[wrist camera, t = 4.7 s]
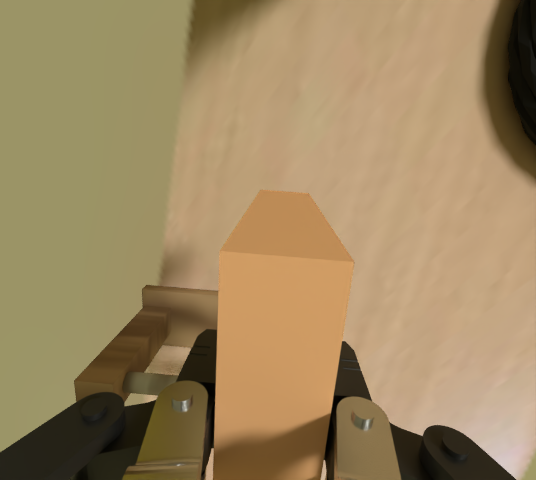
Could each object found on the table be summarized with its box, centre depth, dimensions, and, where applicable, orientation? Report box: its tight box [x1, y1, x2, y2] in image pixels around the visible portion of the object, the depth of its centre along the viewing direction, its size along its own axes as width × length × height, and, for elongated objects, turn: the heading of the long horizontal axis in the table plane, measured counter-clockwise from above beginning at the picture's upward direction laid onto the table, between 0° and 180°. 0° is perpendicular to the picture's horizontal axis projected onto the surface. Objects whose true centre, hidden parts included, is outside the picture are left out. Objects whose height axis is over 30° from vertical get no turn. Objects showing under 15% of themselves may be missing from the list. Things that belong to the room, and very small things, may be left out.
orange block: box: [213, 190, 354, 480], centre depth 13 cm, size 10×3×12 cm, turn 176°
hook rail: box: [74, 285, 219, 402], centre depth 30 cm, size 7×20×14 cm, turn 86°
